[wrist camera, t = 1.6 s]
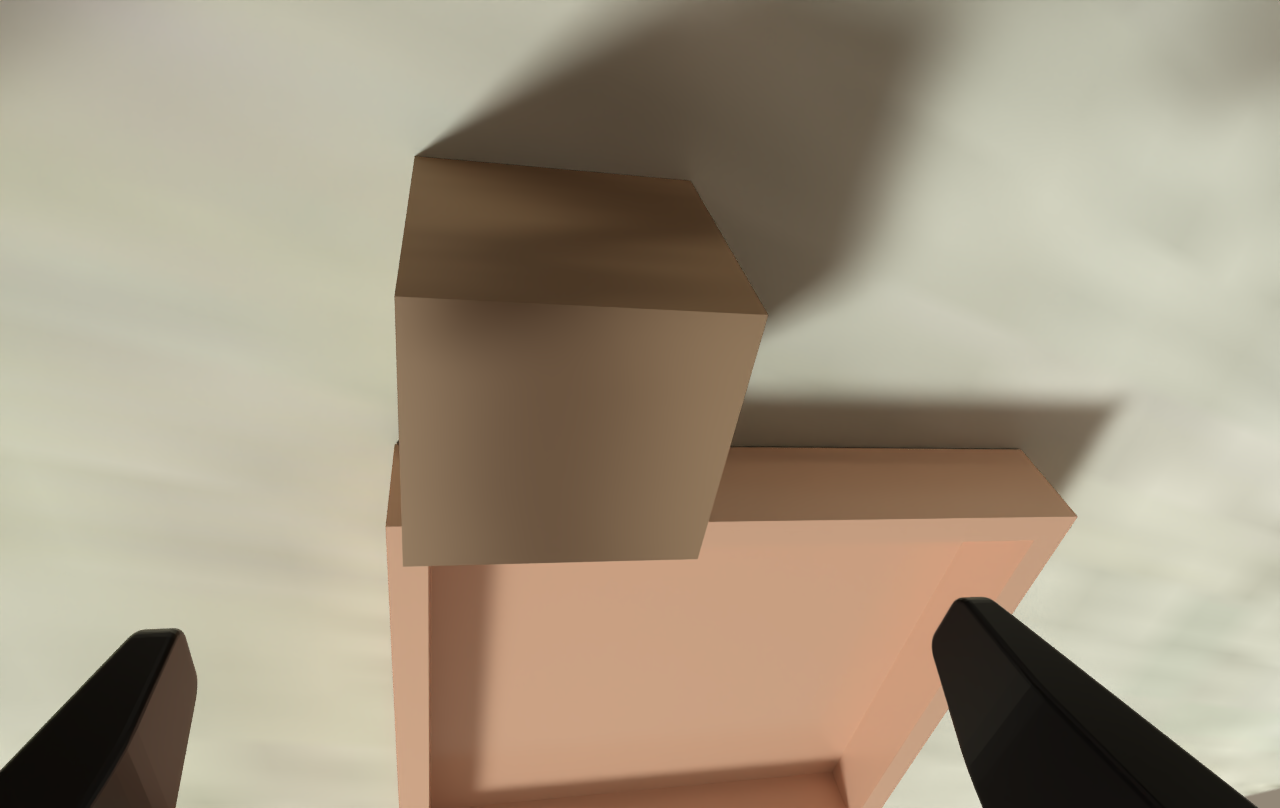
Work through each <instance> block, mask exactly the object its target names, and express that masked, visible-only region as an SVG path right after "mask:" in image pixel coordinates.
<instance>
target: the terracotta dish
mask: <svg viewBox="0 0 1280 808" xmlns="http://www.w3.org/2000/svg"><path fill="white" fill-rule="evenodd" d="M1077 517H1078V516H1077V515H1076V514H1075V513H1074V512H1073V510H1072V509H1071V508H1070V507H1069V506H1068V505H1067V503H1066V502H1065V501H1064V500H1063V499H1062V497H1061V496H1060V495H1059V494H1058V493H1057V492H1056V490H1055V489H1054V488H1053V487H1052V486H1051V484H1050V483H1049V482H1048V481H1047V480H1046V478H1045V477H1044V476H1043V475H1042V474H1041V473H1040V471H1039V470H1038V469H1037V468H1036V467H1035V465H1034V464H1033V463H1032V462H1031V461H1030V460H1029V458H1028V457H1027V456H1026V455H1025V454H1024V452H1023V451H1022V450H1015V449H895V448H775V447H730V449H729V452H728V456H727V459H726V463H725V466H724V470H723V473H722V477H721V480H720V483H719V487H718V490H717V494H716V497H715V501H714V504H713V508H712V511H711V515H710V518H709V522H708V525H707V528H706V532H705V535H704V539H703V542H702V546H701V549H700V553H699V556H698V559H684V560H645V561H606V562H567V563H529V564H490V565H451V566H412V567H403V552H402V520H401V488H400V456H399V444H395V447H394V456H393V465H392V474H391V483H390V492H389V501H388V510H387V519H386V544H387V565H388V586H389V606H390V627H391V648H392V669H393V689H394V710H395V731H396V752H397V772H398V793H399V808H882V807H883V805H884V804H885V802H886V801H887V799H888V798H889V796H890V795H891V793H892V792H893V790H894V789H895V787H896V786H897V784H898V783H899V781H900V780H901V778H902V777H903V776H904V774H905V773H906V771H907V770H908V768H909V767H910V765H911V764H912V762H913V761H914V759H915V758H916V756H917V755H918V753H919V752H920V750H921V749H922V747H923V746H924V744H925V743H926V741H927V740H928V738H929V737H930V735H931V734H932V732H933V731H934V729H935V728H936V726H937V725H938V723H939V722H940V720H941V719H942V718H943V716H944V715H945V713H946V712H947V710H948V709H949V708H948V705H947V701H946V698H945V695H944V692H943V688H942V685H941V682H940V678H939V675H938V672H937V668H936V665H935V662H934V658H933V654H932V638H933V635H934V633H935V631H936V630H937V628H938V626H939V625H940V623H941V621H942V620H943V618H944V616H945V615H946V613H947V611H948V610H949V608H950V606H951V605H952V603H953V602H954V601H955V600H956V599H958V598H962V597H987V598H990V599H992V600H993V601H995V602H996V603H998V604H999V605H1000V606H1001V607H1003V608H1004V609H1005V610H1007V611H1008V612H1009V613H1010V614H1012V613H1013V612H1014V610H1015V609H1016V607H1017V606H1018V605H1019V603H1020V602H1021V600H1022V599H1023V597H1024V596H1025V594H1026V593H1027V591H1028V590H1029V588H1030V587H1031V585H1032V584H1033V582H1034V581H1035V579H1036V578H1037V576H1038V575H1039V573H1040V572H1041V570H1042V569H1043V567H1044V566H1045V564H1046V563H1047V561H1048V560H1049V558H1050V557H1051V555H1052V554H1053V552H1054V551H1055V549H1056V548H1057V547H1058V545H1059V544H1060V542H1061V541H1062V539H1063V538H1064V536H1065V535H1066V533H1067V532H1068V530H1069V529H1070V527H1071V526H1072V524H1073V523H1074V521H1075V520H1076V518H1077Z"/></svg>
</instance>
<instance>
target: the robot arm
mask: <svg viewBox="0 0 1280 808" xmlns="http://www.w3.org/2000/svg"><path fill="white" fill-rule="evenodd" d="M932 654H933V658H934V662H935V665H936V668H937V672H938V675H939V678H940V682H941V685H942V688H943V692H944V695H945V698H946V701H947V705H948V708H949V711H950V715H951V718H952V721H953V725H954V728H955V731H956V735H957V738H958V741H959V745H960V748H961V751H962V754H963V757H964V760H965V763H966V766H967V769H968V772H969V774H970V777H971V780H972V782H973V785H974V788H975V790H976V793H977V795H978V797H979V800H980V802H981V805H982V807H983V808H1258V807H1257V806H1255V805H1254V804H1253V803H1251V802H1250V801H1249V800H1248V799H1246V798H1245V797H1244V796H1243V795H1241V794H1240V793H1239V792H1237V791H1236V790H1235V789H1234V788H1232V787H1231V786H1230V785H1229V784H1227V783H1226V782H1225V781H1223V780H1222V779H1221V778H1220V777H1218V776H1217V775H1216V774H1214V773H1213V772H1212V771H1211V770H1209V769H1208V768H1207V767H1206V766H1204V765H1203V764H1202V763H1200V762H1199V761H1198V760H1197V759H1195V758H1194V757H1193V756H1192V755H1190V754H1189V753H1188V752H1186V751H1185V750H1184V749H1183V748H1181V747H1180V746H1179V745H1177V744H1176V743H1175V742H1174V741H1172V740H1171V739H1170V738H1169V737H1167V736H1166V735H1165V734H1163V733H1162V732H1161V731H1160V730H1158V729H1157V728H1156V727H1155V726H1153V725H1152V724H1151V723H1149V722H1148V721H1147V720H1146V719H1144V718H1143V717H1142V716H1140V715H1139V714H1138V713H1137V712H1135V711H1134V710H1133V709H1132V708H1130V707H1129V706H1128V705H1126V704H1125V703H1124V702H1123V701H1121V700H1120V699H1119V698H1118V697H1116V696H1115V695H1114V694H1112V693H1111V692H1110V691H1109V690H1107V689H1106V688H1105V687H1104V686H1102V685H1101V684H1100V683H1098V682H1097V681H1096V680H1095V679H1093V678H1092V677H1091V676H1089V675H1088V674H1087V673H1086V672H1084V671H1083V670H1082V669H1081V668H1079V667H1078V666H1077V665H1075V664H1074V663H1073V662H1072V661H1070V660H1069V659H1068V658H1067V657H1065V656H1064V655H1063V654H1061V653H1060V652H1059V651H1058V650H1056V649H1055V648H1054V647H1052V646H1051V645H1050V644H1049V643H1047V642H1046V641H1045V640H1044V639H1042V638H1041V637H1040V636H1038V635H1037V634H1036V633H1035V632H1033V631H1032V630H1031V629H1030V628H1028V627H1027V626H1026V625H1024V624H1023V623H1022V622H1021V621H1019V620H1018V619H1017V618H1015V617H1014V616H1013V615H1012V614H1010V613H1009V612H1008V611H1007V610H1005V609H1004V608H1003V607H1001V606H1000V605H999V604H998V603H996V602H995V601H993V600H992V599H990V598H987V597H962V598H958V599H956V600H955V601H954V602H953V603H952V605H951V606H950V608H949V610H948V611H947V613H946V615H945V616H944V618H943V620H942V621H941V623H940V625H939V626H938V628H937V630H936V631H935V633H934V635H933V638H932ZM196 695H197V675H196V671H195V667H194V664H193V661H192V657H191V654H190V650H189V647H188V644H187V640H186V637H185V635H184V633H183V632H182V631H181V630H179V629H176V628H169V629H145V630H140V631H138V632H136V633H134V634H133V635H131V636H130V637H129V638H128V639H127V640H126V641H125V642H124V643H123V644H122V645H121V646H120V647H119V648H118V649H117V650H116V651H115V652H114V653H113V654H112V655H111V656H110V657H109V658H108V660H107V661H106V662H105V663H104V664H103V665H102V666H101V667H100V668H99V669H98V670H97V671H96V672H95V673H94V674H93V675H92V676H91V677H90V678H89V679H88V680H87V681H86V682H85V683H84V684H83V685H82V686H81V687H80V689H79V690H78V691H77V692H76V693H75V694H74V695H73V696H72V697H71V698H70V699H69V700H68V701H67V702H66V703H65V704H64V705H63V706H62V707H61V708H60V709H59V710H58V711H57V712H56V713H55V714H54V715H53V716H52V717H51V719H50V720H49V721H48V722H47V723H46V724H45V725H44V726H43V727H42V728H41V729H40V730H39V731H38V732H37V733H36V734H35V735H34V736H33V737H32V738H31V739H30V740H29V741H28V742H27V743H26V744H25V745H24V746H23V748H22V749H21V750H20V751H19V752H18V753H17V754H16V755H15V756H14V757H13V758H12V759H11V760H10V761H9V762H8V763H7V764H6V765H5V766H4V767H3V768H2V769H1V770H0V808H175V807H176V802H177V797H178V791H179V786H180V781H181V775H182V770H183V765H184V759H185V754H186V749H187V744H188V738H189V733H190V728H191V722H192V717H193V712H194V706H195V701H196Z"/></svg>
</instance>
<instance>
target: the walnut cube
mask: <svg viewBox="0 0 1280 808" xmlns="http://www.w3.org/2000/svg"><path fill="white" fill-rule="evenodd" d="M767 317H768V314H767V312H766V310H765V309H764V307H763V305H762V303H761V302H760V300H759V298H758V297H757V295H756V293H755V291H754V290H753V288H752V286H751V284H750V283H749V281H748V279H747V278H746V276H745V274H744V272H743V271H742V269H741V267H740V265H739V264H738V262H737V260H736V259H735V257H734V255H733V253H732V252H731V250H730V248H729V246H728V245H727V243H726V241H725V240H724V238H723V236H722V234H721V233H720V231H719V229H718V227H717V226H716V224H715V222H714V221H713V219H712V217H711V215H710V214H709V212H708V210H707V208H706V207H705V205H704V203H703V202H702V200H701V198H700V196H699V195H698V193H697V191H696V189H695V188H694V186H693V184H692V183H691V181H688V180H677V179H666V178H655V177H643V176H632V175H621V174H610V173H599V172H587V171H576V170H565V169H554V168H543V167H532V166H520V165H509V164H498V163H487V162H476V161H464V160H453V159H442V158H431V157H420V156H415V159H414V165H413V172H412V179H411V186H410V193H409V200H408V207H407V214H406V221H405V228H404V235H403V241H402V248H401V255H400V262H399V269H398V276H397V283H396V290H395V327H396V359H397V391H398V423H399V456H400V488H401V520H402V552H403V567H412V566H451V565H490V564H529V563H567V562H606V561H645V560H684V559H698V556H699V553H700V549H701V546H702V542H703V539H704V535H705V532H706V528H707V525H708V522H709V518H710V515H711V511H712V508H713V504H714V501H715V497H716V494H717V490H718V487H719V483H720V480H721V477H722V473H723V470H724V466H725V463H726V459H727V456H728V452H729V449H730V445H731V442H732V438H733V435H734V432H735V428H736V425H737V421H738V418H739V414H740V411H741V407H742V404H743V400H744V397H745V394H746V390H747V387H748V383H749V380H750V376H751V373H752V369H753V366H754V362H755V359H756V355H757V352H758V349H759V345H760V342H761V338H762V335H763V331H764V328H765V324H766V321H767Z"/></svg>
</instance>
